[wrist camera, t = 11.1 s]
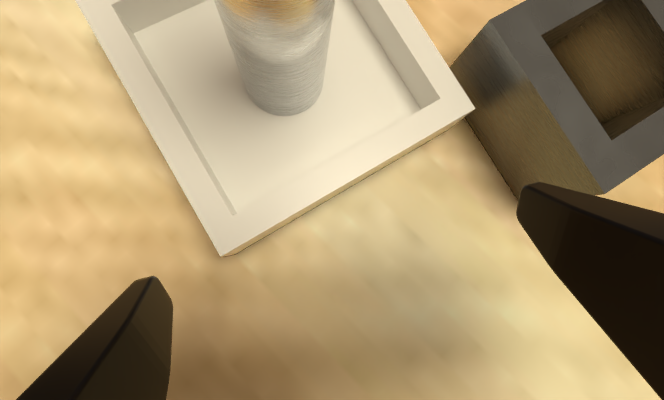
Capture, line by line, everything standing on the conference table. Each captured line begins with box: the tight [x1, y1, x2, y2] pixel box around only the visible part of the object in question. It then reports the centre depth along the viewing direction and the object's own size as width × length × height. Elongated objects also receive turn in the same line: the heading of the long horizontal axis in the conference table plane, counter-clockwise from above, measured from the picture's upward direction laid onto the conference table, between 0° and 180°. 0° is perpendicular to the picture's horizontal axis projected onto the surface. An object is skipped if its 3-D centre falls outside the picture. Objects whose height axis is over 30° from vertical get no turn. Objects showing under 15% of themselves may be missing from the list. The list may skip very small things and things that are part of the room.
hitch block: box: [450, 0, 664, 201], centre depth 17 cm, size 8×8×5 cm
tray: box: [75, 0, 475, 257], centre depth 17 cm, size 13×13×3 cm
